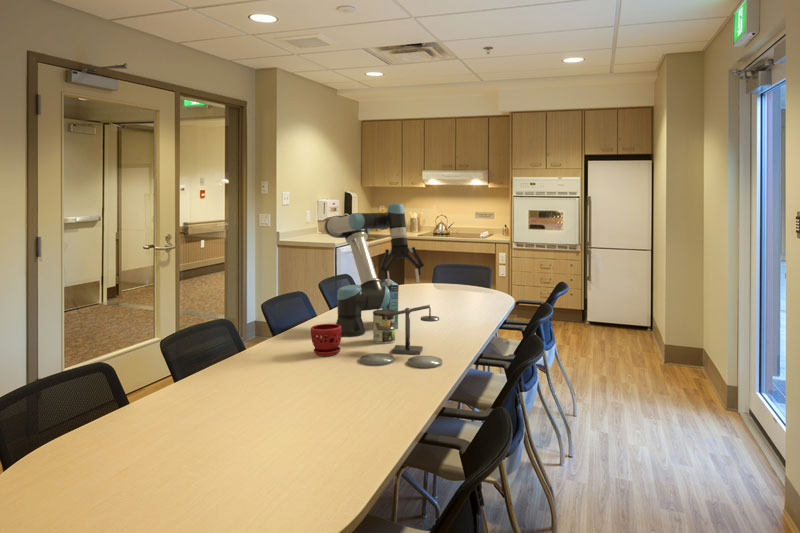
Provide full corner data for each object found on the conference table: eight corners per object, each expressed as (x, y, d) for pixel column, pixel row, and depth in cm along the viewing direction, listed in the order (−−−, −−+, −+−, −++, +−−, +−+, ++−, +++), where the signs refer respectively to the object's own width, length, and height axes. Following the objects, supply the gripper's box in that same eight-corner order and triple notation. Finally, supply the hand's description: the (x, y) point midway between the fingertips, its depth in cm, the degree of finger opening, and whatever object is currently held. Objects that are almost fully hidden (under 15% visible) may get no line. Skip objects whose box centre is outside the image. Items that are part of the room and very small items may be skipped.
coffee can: (397, 338, 277) (397, 309, 275) (392, 344, 267) (392, 314, 265) (376, 337, 279) (375, 308, 277) (370, 343, 269) (370, 313, 267)
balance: (374, 352, 253) (374, 304, 251) (379, 347, 261) (378, 301, 259) (437, 355, 248) (438, 306, 246) (440, 350, 256) (440, 303, 253)
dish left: (356, 364, 235) (356, 361, 235) (364, 355, 249) (364, 352, 249) (390, 366, 233) (390, 363, 233) (396, 356, 246) (396, 353, 246)
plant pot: (345, 350, 257) (345, 323, 256) (335, 358, 244) (335, 330, 243) (317, 348, 260) (317, 322, 259) (306, 356, 247) (305, 328, 246)
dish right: (405, 367, 232) (405, 364, 232) (410, 357, 245) (410, 354, 245) (440, 369, 229) (440, 366, 229) (444, 359, 243) (444, 356, 243)
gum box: (381, 321, 315) (381, 279, 312) (391, 320, 316) (391, 279, 313) (389, 329, 296) (389, 284, 293) (399, 329, 297) (398, 284, 294)
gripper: (373, 239, 260) (378, 286, 258) (427, 234, 265) (432, 281, 264) (370, 241, 267) (375, 287, 266) (422, 236, 273) (427, 282, 271)
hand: (403, 284), depth 265 cm, fingers open, 13 cm apart
